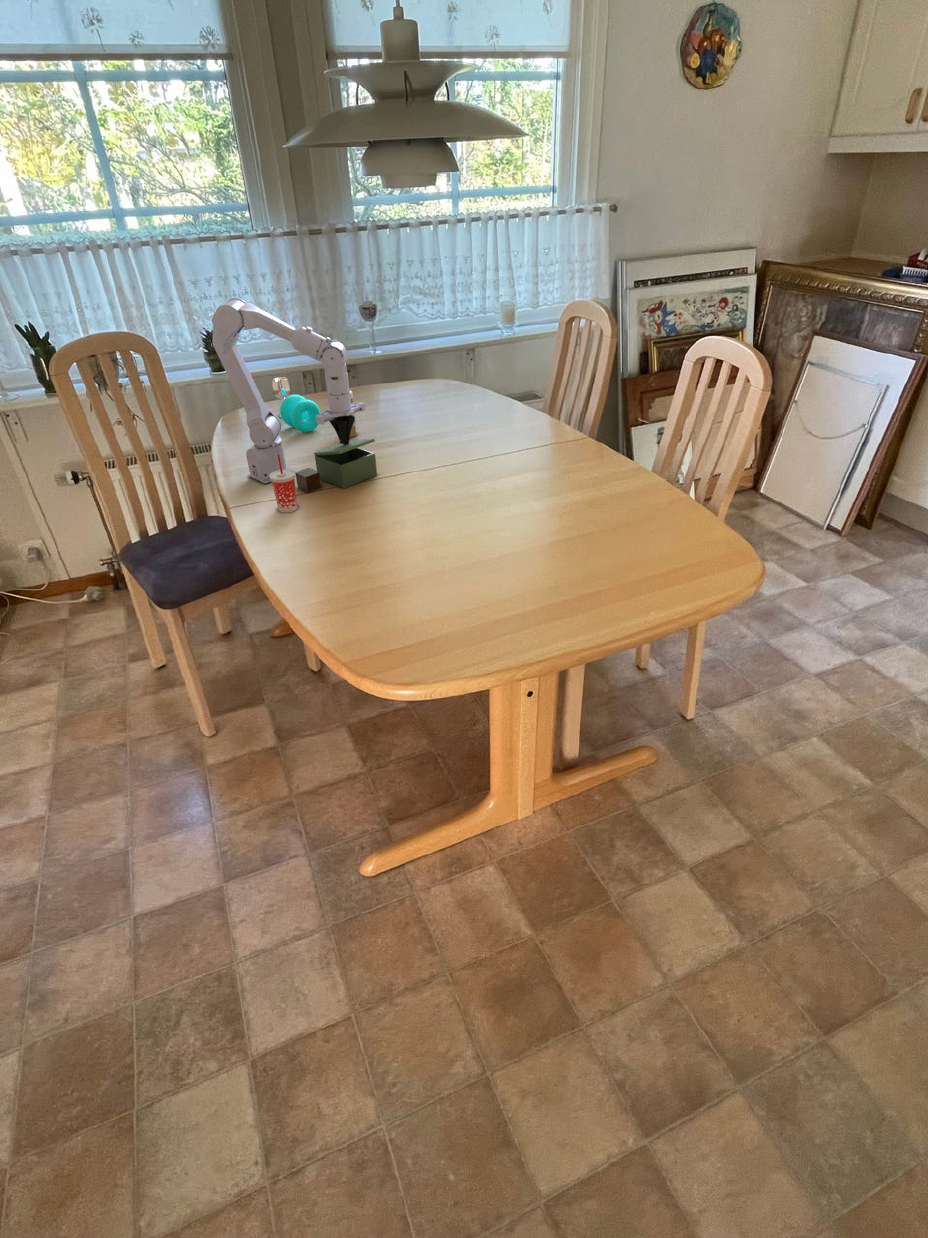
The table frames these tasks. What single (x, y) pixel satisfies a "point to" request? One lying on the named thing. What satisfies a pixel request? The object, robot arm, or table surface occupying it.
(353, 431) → the sprinkles bottle
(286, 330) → the robot arm
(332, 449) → the lid
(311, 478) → the block
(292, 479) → the beverage cup
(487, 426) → the table surface
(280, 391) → the wineglass
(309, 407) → the donuts
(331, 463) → the chest
